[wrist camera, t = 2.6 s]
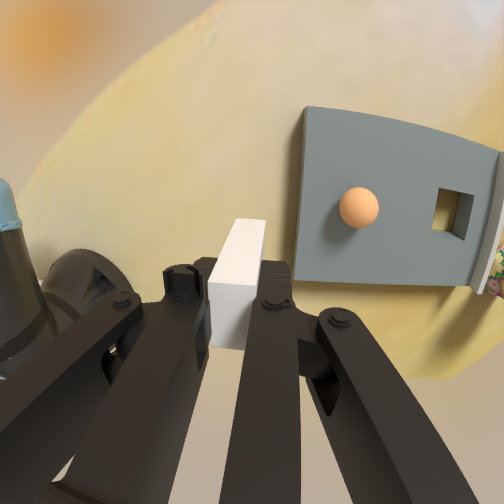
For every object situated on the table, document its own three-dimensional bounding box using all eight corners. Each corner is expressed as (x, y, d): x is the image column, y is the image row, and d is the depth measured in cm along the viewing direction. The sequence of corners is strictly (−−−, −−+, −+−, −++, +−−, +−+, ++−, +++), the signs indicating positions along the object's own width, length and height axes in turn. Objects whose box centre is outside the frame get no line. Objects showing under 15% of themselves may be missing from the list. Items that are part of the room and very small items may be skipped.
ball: (333, 219, 26) (341, 232, 23) (337, 181, 25) (346, 189, 21) (368, 222, 26) (380, 235, 23) (373, 186, 24) (387, 194, 21)
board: (292, 266, 32) (294, 290, 27) (303, 108, 25) (310, 103, 20) (463, 275, 30) (481, 294, 26) (489, 150, 24) (514, 156, 19)
